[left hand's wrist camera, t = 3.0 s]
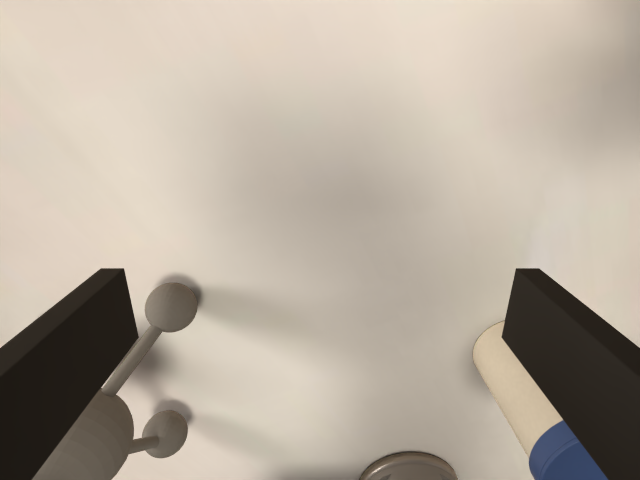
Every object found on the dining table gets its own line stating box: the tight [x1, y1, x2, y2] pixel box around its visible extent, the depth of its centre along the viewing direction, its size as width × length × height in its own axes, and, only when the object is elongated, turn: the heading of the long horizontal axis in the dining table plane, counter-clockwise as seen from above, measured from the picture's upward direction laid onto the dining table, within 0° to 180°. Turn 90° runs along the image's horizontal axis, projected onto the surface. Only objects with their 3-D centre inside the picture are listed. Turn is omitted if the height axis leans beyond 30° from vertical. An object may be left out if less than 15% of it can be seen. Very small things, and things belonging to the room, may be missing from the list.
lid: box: [529, 420, 608, 480], centre depth 33 cm, size 10×10×2 cm
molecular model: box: [32, 283, 197, 480], centre depth 33 cm, size 24×22×30 cm
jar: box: [473, 321, 563, 458], centre depth 40 cm, size 9×9×16 cm
